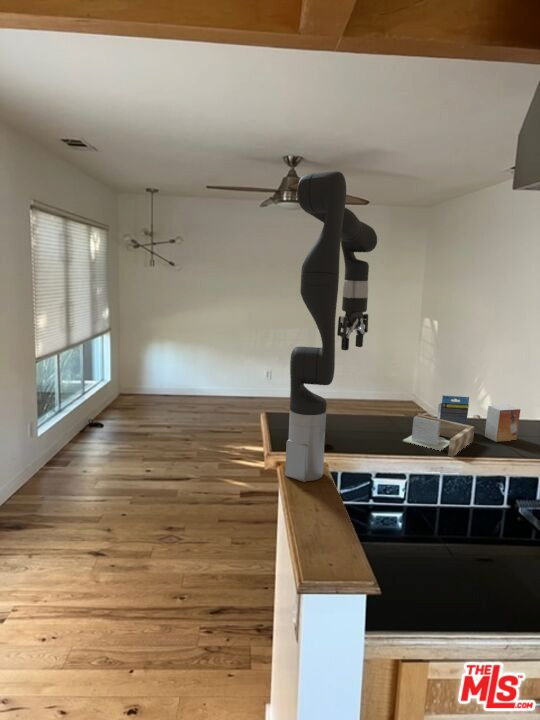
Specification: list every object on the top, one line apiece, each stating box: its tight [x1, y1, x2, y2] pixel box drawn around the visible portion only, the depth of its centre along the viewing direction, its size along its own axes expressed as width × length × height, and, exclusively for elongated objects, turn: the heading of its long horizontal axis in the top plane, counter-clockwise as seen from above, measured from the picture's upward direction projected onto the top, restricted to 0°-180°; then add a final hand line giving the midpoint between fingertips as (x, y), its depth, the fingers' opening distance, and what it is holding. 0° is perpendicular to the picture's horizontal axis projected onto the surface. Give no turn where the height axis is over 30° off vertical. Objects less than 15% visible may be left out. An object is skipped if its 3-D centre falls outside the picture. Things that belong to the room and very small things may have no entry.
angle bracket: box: [411, 415, 446, 447], centre depth 157 cm, size 8×6×8 cm
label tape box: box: [436, 394, 470, 425], centre depth 169 cm, size 9×4×12 cm, turn 85°
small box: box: [484, 404, 521, 443], centre depth 162 cm, size 8×6×10 cm
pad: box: [402, 434, 450, 452], centre depth 157 cm, size 10×12×1 cm
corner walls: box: [416, 413, 475, 458], centre depth 157 cm, size 17×18×5 cm
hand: (351, 348), depth 156 cm, fingers open, 8 cm apart
